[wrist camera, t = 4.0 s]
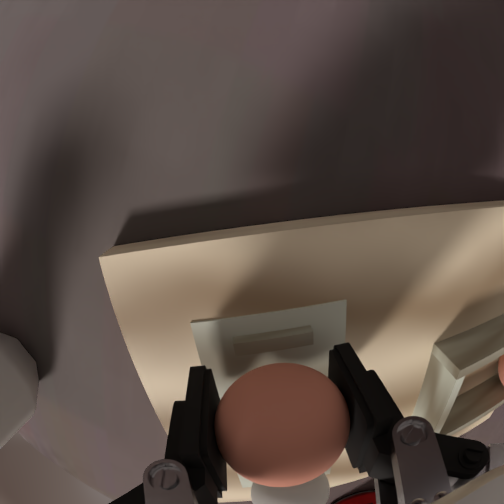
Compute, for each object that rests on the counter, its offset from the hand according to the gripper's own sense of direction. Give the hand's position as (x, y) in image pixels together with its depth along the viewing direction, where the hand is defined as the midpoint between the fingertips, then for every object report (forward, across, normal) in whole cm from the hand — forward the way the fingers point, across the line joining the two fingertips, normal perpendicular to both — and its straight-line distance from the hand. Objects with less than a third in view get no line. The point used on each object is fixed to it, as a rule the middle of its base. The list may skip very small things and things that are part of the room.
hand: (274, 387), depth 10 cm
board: (+3, -7, +5) cm, 9 cm away
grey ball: (+1, 0, +8) cm, 9 cm away
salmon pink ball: (0, 0, 0) cm, 0 cm away
